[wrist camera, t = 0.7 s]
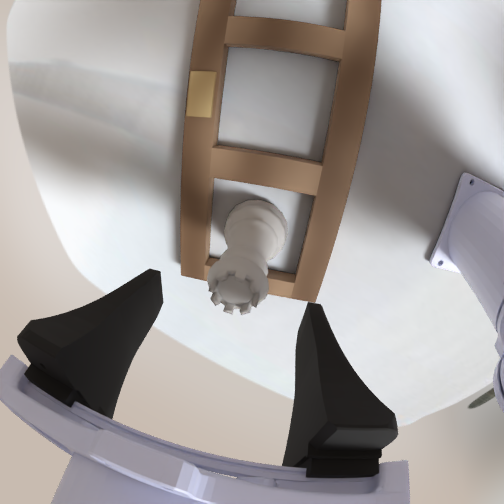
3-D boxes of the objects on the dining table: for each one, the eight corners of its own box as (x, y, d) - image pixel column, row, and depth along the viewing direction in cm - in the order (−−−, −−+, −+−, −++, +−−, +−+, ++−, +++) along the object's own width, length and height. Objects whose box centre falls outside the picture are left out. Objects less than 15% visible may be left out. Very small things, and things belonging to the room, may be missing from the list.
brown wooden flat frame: (378, -45, 8) (383, -54, 6) (314, 293, 22) (315, 305, 21) (221, -64, 9) (216, -73, 7) (186, 267, 23) (179, 277, 22)
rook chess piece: (294, 246, 21) (288, 323, 14) (238, 257, 22) (209, 330, 15) (279, 190, 19) (265, 248, 12) (219, 205, 20) (176, 265, 13)
